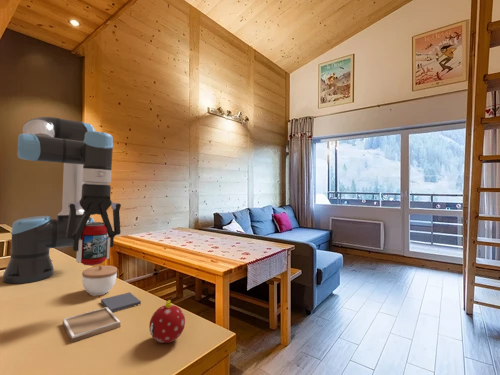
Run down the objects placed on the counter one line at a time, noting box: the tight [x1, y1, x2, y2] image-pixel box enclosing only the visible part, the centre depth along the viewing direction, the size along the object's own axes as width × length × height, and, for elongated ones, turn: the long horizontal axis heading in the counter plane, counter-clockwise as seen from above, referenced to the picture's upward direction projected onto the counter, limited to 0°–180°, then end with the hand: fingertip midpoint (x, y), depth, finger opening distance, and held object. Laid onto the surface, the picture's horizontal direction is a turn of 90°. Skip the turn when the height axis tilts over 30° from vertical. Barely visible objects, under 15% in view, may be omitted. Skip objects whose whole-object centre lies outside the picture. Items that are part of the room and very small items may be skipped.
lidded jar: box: [81, 264, 118, 297], centre depth 92 cm, size 11×11×9 cm
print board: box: [62, 306, 121, 343], centre depth 71 cm, size 11×11×1 cm
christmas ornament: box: [148, 299, 186, 344], centre depth 66 cm, size 9×9×10 cm
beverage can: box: [80, 221, 108, 266], centre depth 79 cm, size 7×7×12 cm
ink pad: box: [100, 292, 141, 313], centre depth 84 cm, size 9×9×1 cm
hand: (93, 259), depth 79 cm, fingers closed on beverage can, 7 cm apart
